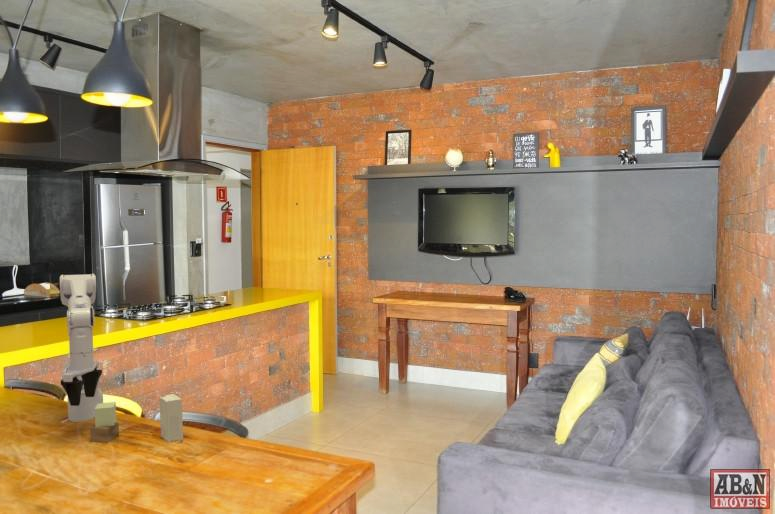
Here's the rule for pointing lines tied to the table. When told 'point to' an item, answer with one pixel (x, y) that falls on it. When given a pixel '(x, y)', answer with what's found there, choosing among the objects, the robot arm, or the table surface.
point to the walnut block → (104, 433)
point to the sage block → (105, 414)
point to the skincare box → (171, 418)
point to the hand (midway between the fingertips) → (82, 400)
